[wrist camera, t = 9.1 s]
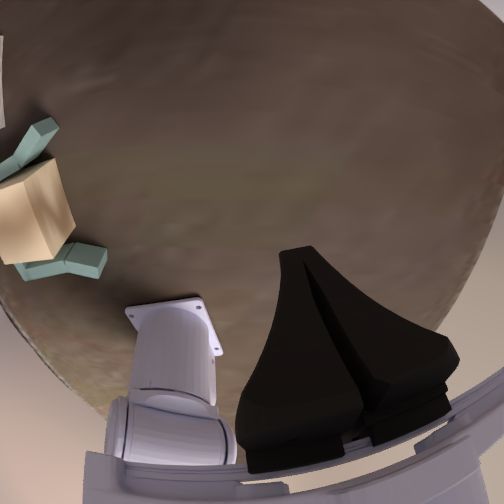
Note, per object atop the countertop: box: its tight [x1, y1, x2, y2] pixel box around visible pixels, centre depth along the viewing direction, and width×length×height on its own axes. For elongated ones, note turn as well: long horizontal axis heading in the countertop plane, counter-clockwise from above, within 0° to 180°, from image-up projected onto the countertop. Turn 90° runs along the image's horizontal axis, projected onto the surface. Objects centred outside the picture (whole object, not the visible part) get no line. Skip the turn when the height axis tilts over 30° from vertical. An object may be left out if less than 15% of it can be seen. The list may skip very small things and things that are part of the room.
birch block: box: [0, 158, 76, 265], centre depth 15 cm, size 6×6×4 cm
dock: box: [0, 117, 107, 281], centre depth 16 cm, size 13×9×2 cm
